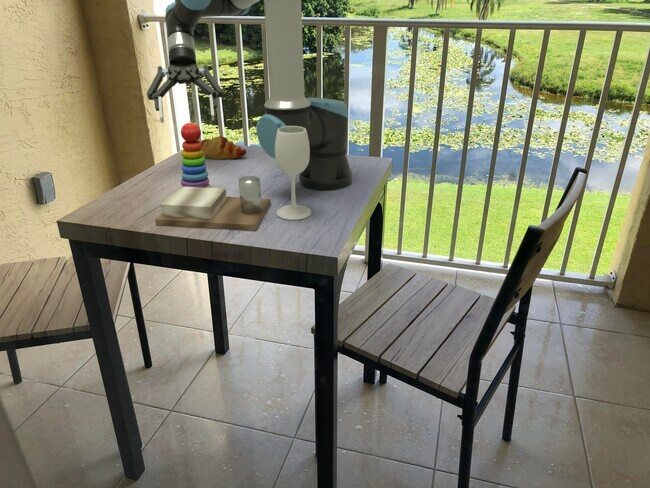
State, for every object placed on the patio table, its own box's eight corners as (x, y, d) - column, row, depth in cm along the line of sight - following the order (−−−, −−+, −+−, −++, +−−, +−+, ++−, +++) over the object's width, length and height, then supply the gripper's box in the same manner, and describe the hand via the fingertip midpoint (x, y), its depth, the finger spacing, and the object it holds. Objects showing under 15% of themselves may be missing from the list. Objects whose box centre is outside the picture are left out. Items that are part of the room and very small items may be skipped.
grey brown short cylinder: (263, 207, 126) (261, 176, 123) (258, 215, 122) (257, 183, 118) (243, 206, 127) (241, 175, 123) (238, 214, 123) (235, 182, 119)
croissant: (187, 164, 171) (177, 147, 165) (199, 143, 176) (190, 126, 170) (244, 170, 165) (236, 152, 158) (254, 148, 170) (248, 130, 164)
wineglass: (288, 203, 132) (286, 123, 122) (317, 210, 128) (317, 127, 119) (269, 215, 125) (265, 131, 116) (299, 223, 122) (298, 136, 112)
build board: (270, 204, 132) (269, 187, 130) (255, 230, 118) (254, 213, 116) (181, 199, 134) (179, 183, 132) (156, 225, 120) (153, 207, 118)
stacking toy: (204, 198, 135) (196, 128, 127) (176, 195, 137) (166, 126, 128) (215, 187, 142) (209, 120, 134) (189, 185, 144) (180, 118, 135)
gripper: (226, 61, 152) (233, 123, 146) (138, 63, 147) (142, 128, 141) (226, 44, 145) (233, 109, 139) (133, 46, 140) (137, 113, 134)
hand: (187, 119), depth 140 cm, fingers open, 13 cm apart
